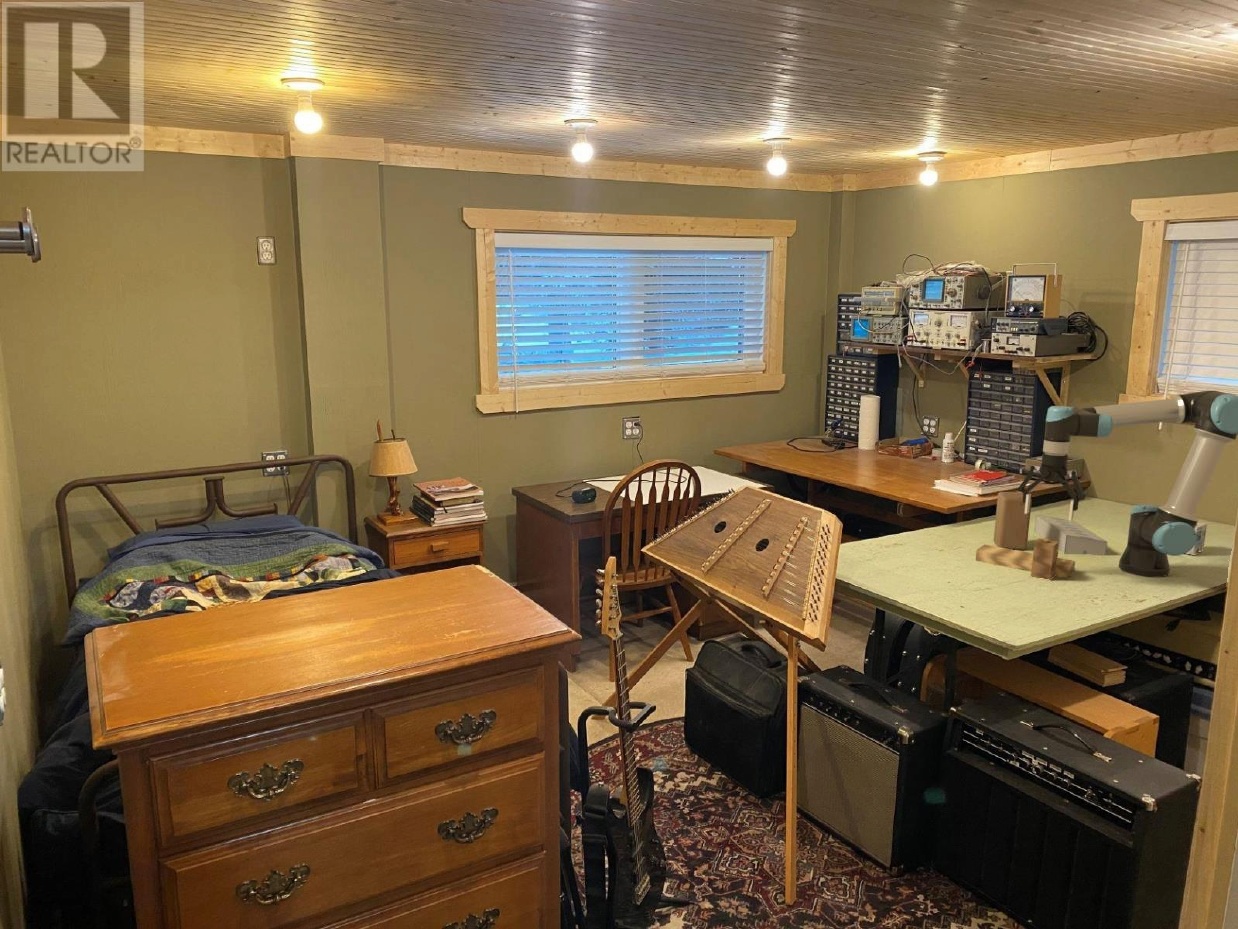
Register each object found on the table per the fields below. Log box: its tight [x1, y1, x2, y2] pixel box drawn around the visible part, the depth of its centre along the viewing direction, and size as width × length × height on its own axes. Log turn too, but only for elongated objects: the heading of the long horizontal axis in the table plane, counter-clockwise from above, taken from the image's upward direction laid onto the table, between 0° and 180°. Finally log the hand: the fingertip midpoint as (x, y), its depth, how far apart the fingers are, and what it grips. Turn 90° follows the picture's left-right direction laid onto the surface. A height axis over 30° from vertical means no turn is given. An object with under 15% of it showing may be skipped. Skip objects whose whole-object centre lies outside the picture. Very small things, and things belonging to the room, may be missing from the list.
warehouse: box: [1034, 514, 1108, 556], centre depth 334 cm, size 30×14×8 cm, turn 174°
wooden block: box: [993, 491, 1033, 551], centre depth 328 cm, size 10×10×20 cm
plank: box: [975, 543, 1076, 579], centre depth 305 cm, size 30×9×4 cm, turn 51°
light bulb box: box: [1186, 521, 1208, 556], centre depth 325 cm, size 11×7×11 cm, turn 129°
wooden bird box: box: [1030, 538, 1059, 581], centre depth 296 cm, size 6×15×13 cm, turn 141°
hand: (1048, 516), depth 291 cm, fingers open, 13 cm apart
